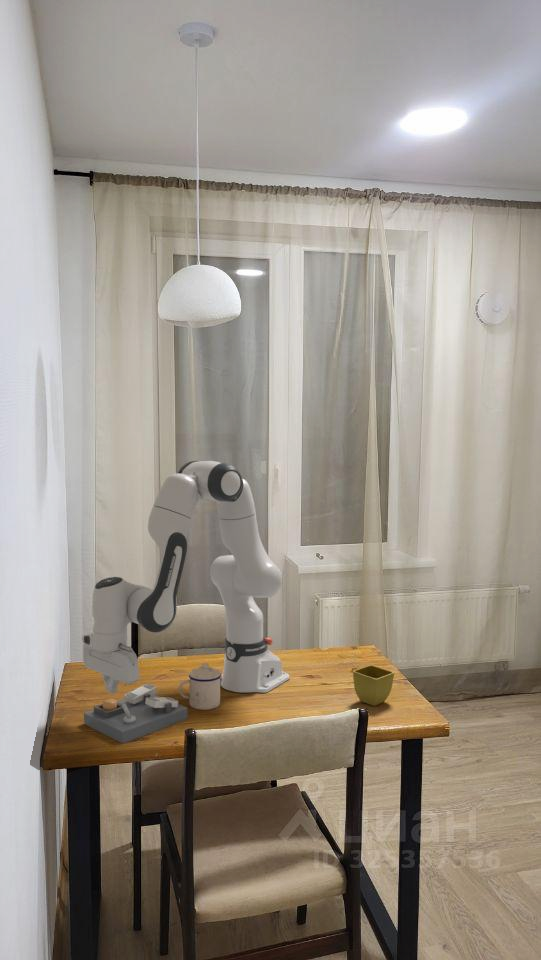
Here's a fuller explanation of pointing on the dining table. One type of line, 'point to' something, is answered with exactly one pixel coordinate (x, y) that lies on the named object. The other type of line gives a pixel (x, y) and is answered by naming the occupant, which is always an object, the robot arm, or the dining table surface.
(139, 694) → the rocker
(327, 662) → the dining table surface
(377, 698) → the flower pot
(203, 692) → the teacup with lid
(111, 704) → the button
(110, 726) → the panel
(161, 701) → the rocker
